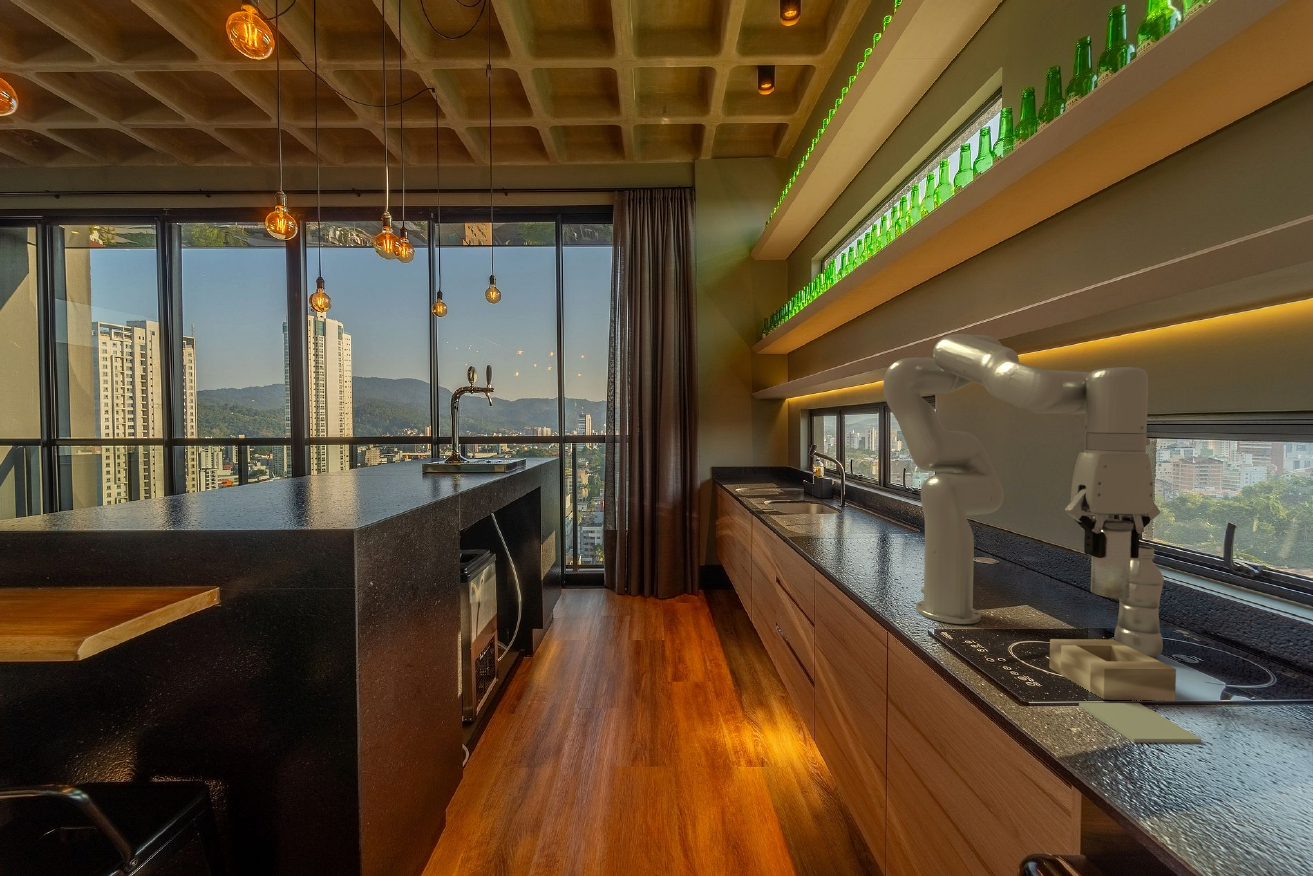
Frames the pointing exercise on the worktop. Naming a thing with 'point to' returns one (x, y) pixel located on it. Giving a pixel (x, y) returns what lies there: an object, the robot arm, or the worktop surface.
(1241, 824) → the worktop surface
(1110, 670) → the tan square frame
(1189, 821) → the worktop surface
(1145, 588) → the plastic bottle
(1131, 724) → the mat
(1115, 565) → the grey cylindrical piece
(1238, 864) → the worktop surface
